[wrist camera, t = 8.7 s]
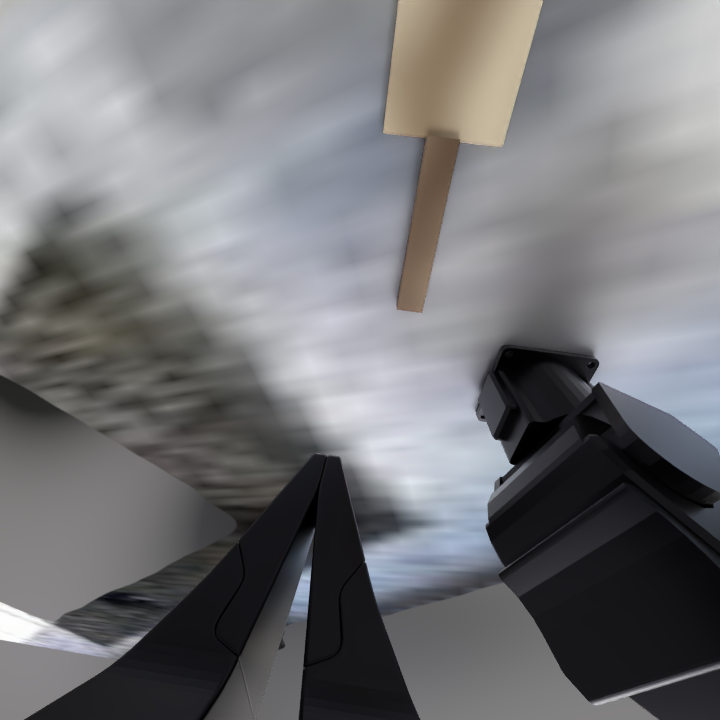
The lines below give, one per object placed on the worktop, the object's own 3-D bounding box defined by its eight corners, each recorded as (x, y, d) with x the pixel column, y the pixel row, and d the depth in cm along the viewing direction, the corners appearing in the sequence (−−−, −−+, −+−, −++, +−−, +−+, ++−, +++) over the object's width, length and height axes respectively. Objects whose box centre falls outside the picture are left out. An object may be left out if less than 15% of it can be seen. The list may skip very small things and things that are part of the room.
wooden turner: (556, -63, 12) (568, -81, 11) (453, 311, 20) (456, 317, 19) (408, -78, 12) (409, -98, 12) (363, 299, 20) (362, 304, 19)
